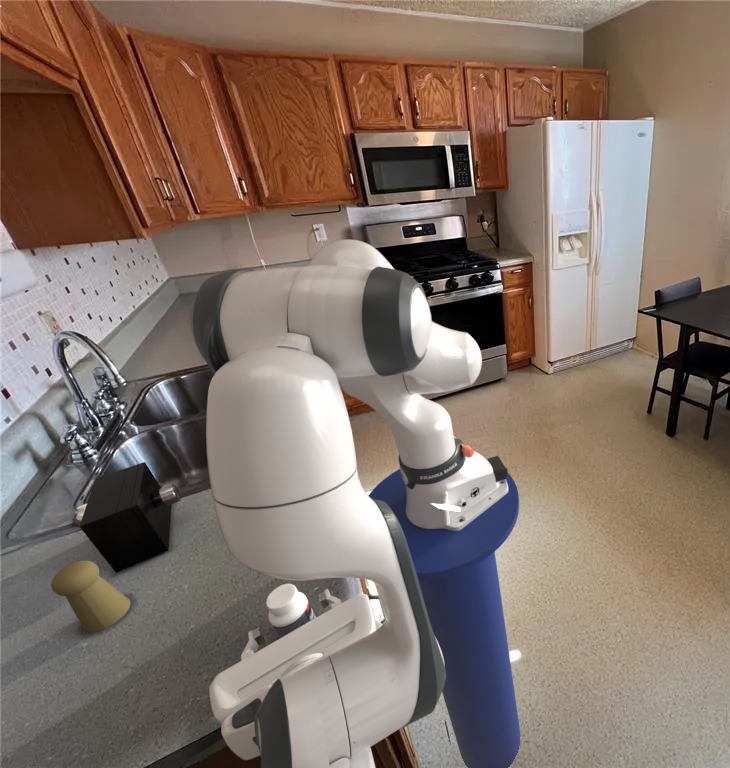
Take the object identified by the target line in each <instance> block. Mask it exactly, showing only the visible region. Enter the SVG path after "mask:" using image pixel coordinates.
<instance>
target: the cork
mask: <svg viewBox="0 0 730 768" xmlns="http://www.w3.org/2000/svg"><path fill="white" fill-rule="evenodd" d="M50 586H51V590H52V592H54V593H55V594H56V595H58V596H59V597H65V599H66V600H67V602H68V603H69V605H70V607H71V609H72V611H73V612H74V614H75V616H76V618H77V619H78V622H79V623H80V625H81V627H82V628H83V630H84V631H85V632H86V633H91V634H92V633H97V632H101V631H103V630H106V629H107V628H108V627H109V628H110V627H111V626H112V625H114V624H115V623H117V622H118V621H119V620H120V619H122V618H123V617H124V616H125V615H126V613H127V612H128V611H129V609H130V606H131V600H130V599H129V598H128V597H127V596H125V595H124V594H123V593H121V592H120V591H119V590H118V589H117V588H116V587H114V586H113V585H112V584H110V583H109V582H108V581H106V580H105V579H104V578H103V577H101V576H100V568H99V566H98V565H97V564H96V563H95V562H93V561H91V560H79V561H76V562H73V563H71V564H69V565H66V566H65V567H64V568H62V569H61V570H60V571H58V572H57V573H56V574H55V575H54V576H53V577H52V580H51V583H50Z"/></svg>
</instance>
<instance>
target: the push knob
mask: <svg viewBox="0 0 730 768" xmlns="http://www.w3.org/2000/svg"><path fill="white" fill-rule="evenodd" d="M159 494H160V495H158V496H156V497H153V498H151V499H150V500H151V501H152V503H153V504H157V503H159V502H162V501H163V503H164V504H165V505H166V506H168V505H171V504H172V505H173V504H176V503H178V502H181V499H182V497H181V493H180V491H179V489H178V487H177V485H176V484H174V483H171V484H168V485H166V486H163V487H161V488H160V489H159Z"/></svg>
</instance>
